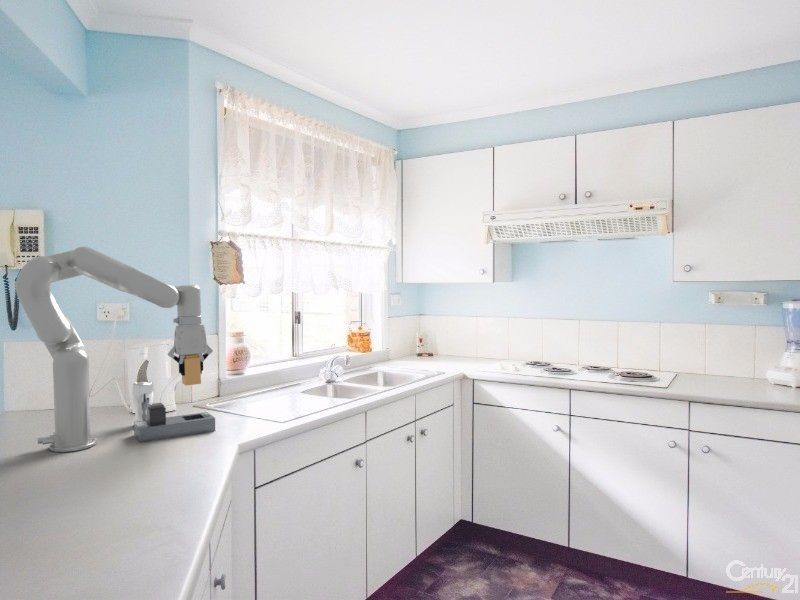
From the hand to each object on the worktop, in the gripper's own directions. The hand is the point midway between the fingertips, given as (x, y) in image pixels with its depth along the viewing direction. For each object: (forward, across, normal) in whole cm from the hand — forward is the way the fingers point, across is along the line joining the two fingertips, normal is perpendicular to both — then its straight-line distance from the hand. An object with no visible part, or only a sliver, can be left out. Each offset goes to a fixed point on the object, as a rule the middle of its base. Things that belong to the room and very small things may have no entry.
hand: (191, 373), depth 192 cm
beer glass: (+20, -13, +18) cm, 30 cm away
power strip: (+20, -6, +1) cm, 21 cm away
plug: (+3, 0, 0) cm, 3 cm away
